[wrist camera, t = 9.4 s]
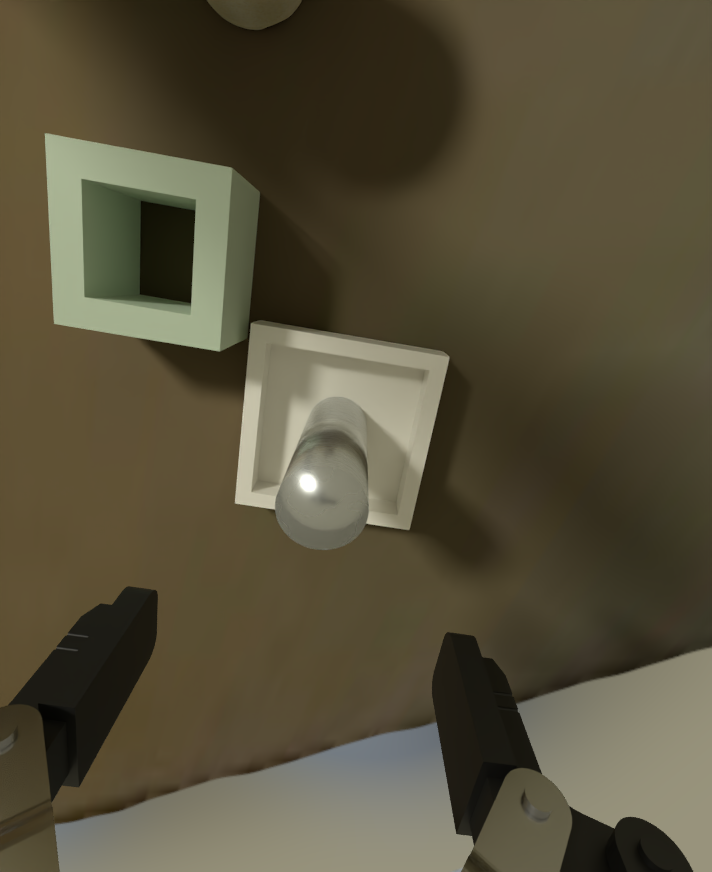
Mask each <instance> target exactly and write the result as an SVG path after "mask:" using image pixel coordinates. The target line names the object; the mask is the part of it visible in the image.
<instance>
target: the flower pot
mask: <svg viewBox="0 0 712 872" xmlns="http://www.w3.org/2000/svg"><path fill="white" fill-rule="evenodd" d="M301 1H302V0H207V2H208V3H209V4H210V5H211V7H212V8H213V9H214V10H215V11H216V12H217V13H218V14H219V15H220V16H221V17H223V18H224V19H225V20H227V21H228V22H230V23H232V24H234V25H236V26H239V27H242V28H245V29H251V30H261V29H264V28H266V27H269V26H272V25H274V24H277V23H279V22H281V21H283V20H285V19H287V18H288V17H290V16H291V15H292V14H293V13H294V11H295V10H296V9H297V8H298V6H299V5H300V3H301Z"/></svg>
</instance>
